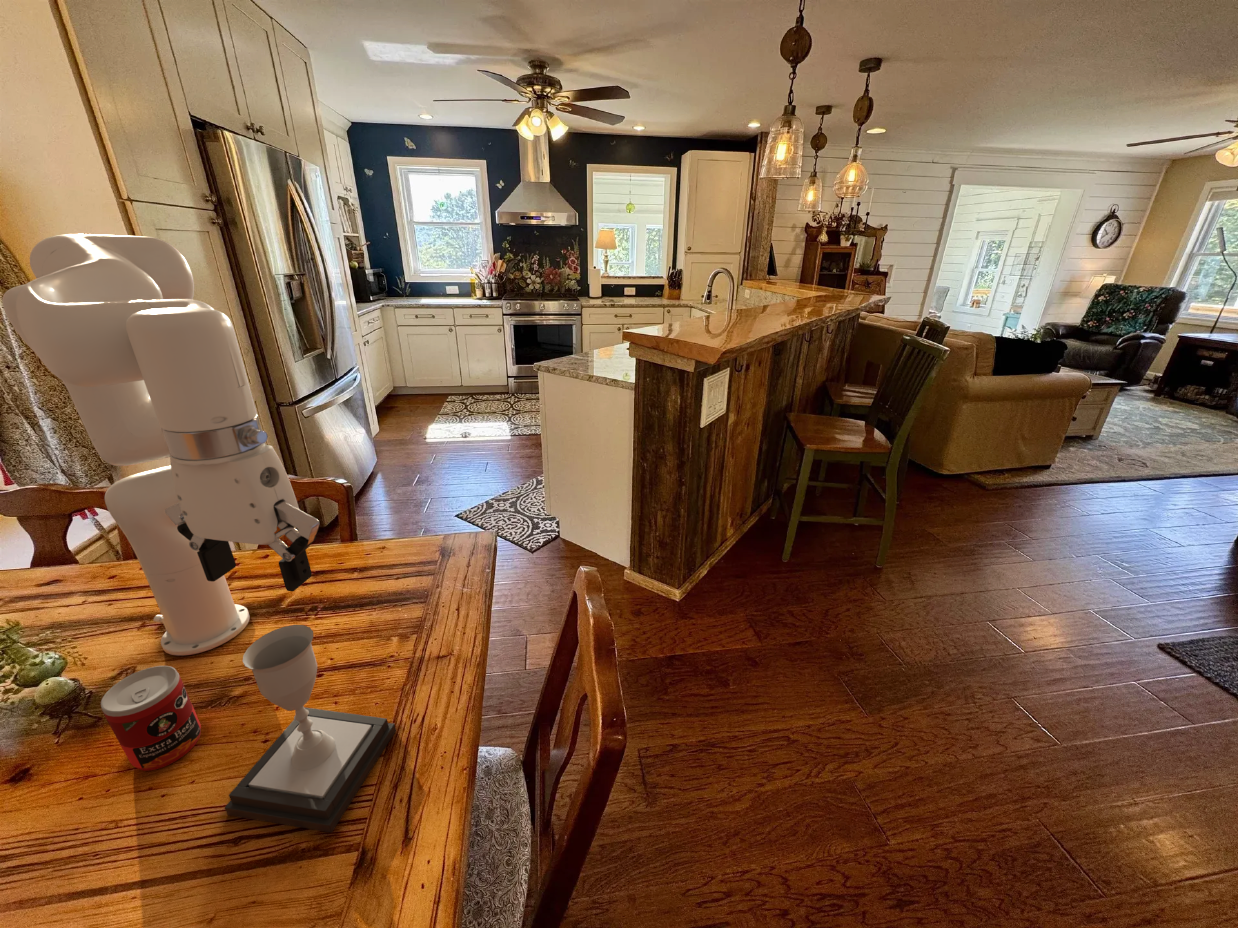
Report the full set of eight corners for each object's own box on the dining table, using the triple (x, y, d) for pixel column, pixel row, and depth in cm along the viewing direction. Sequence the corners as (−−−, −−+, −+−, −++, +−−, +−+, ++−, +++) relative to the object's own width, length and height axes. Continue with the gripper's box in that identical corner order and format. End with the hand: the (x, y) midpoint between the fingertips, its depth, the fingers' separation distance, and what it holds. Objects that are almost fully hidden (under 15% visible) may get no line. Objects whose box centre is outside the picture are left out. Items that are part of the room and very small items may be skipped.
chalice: (314, 783, 61) (278, 674, 54) (268, 772, 62) (226, 663, 55) (355, 732, 68) (327, 629, 61) (312, 723, 69) (280, 620, 62)
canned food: (144, 783, 64) (111, 723, 60) (122, 752, 68) (90, 693, 64) (213, 739, 70) (188, 681, 66) (189, 713, 74) (164, 656, 70)
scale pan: (251, 792, 61) (248, 784, 61) (308, 723, 71) (306, 715, 70) (325, 804, 60) (322, 796, 60) (373, 732, 69) (371, 724, 69)
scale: (227, 814, 61) (220, 798, 59) (308, 718, 73) (303, 703, 72) (331, 832, 59) (326, 816, 58) (396, 730, 72) (392, 715, 70)
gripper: (322, 432, 51) (352, 568, 58) (176, 420, 54) (222, 552, 60) (264, 459, 45) (306, 609, 51) (100, 444, 47) (161, 590, 53)
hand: (260, 578), depth 56 cm, fingers open, 9 cm apart
